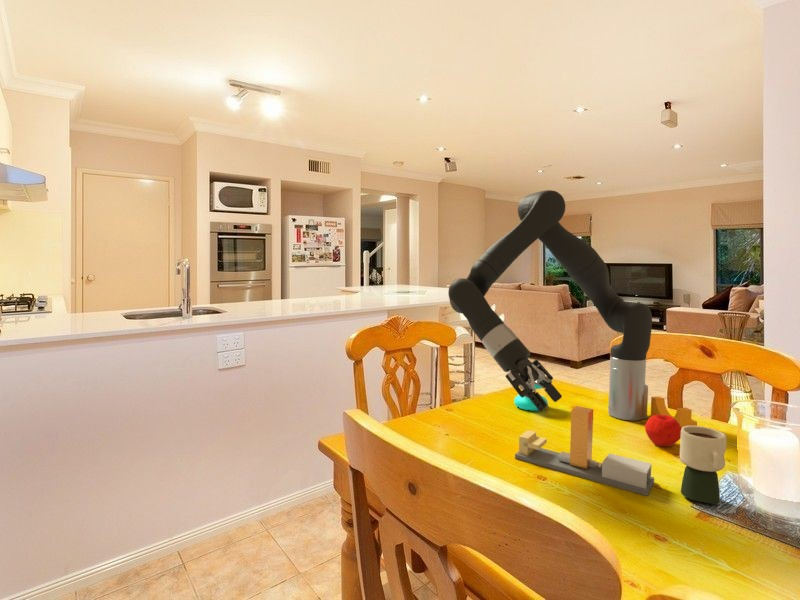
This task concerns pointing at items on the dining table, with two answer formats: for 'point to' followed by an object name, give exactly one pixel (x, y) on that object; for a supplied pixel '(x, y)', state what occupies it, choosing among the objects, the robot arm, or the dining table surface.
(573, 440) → the orange-brown upright block
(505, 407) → the dining table surface
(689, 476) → the mug on green stand
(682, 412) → the pipe clamp
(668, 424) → the apple
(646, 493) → the board
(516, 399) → the donuts
